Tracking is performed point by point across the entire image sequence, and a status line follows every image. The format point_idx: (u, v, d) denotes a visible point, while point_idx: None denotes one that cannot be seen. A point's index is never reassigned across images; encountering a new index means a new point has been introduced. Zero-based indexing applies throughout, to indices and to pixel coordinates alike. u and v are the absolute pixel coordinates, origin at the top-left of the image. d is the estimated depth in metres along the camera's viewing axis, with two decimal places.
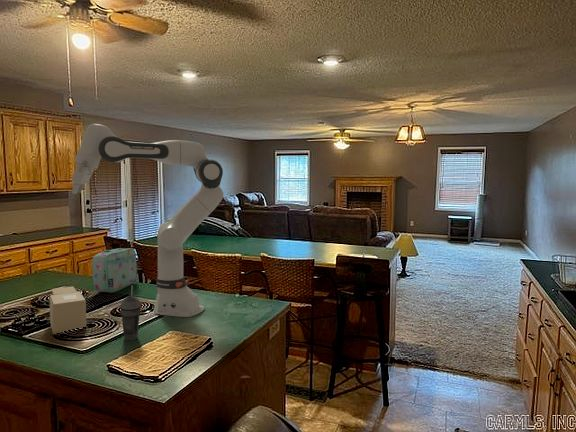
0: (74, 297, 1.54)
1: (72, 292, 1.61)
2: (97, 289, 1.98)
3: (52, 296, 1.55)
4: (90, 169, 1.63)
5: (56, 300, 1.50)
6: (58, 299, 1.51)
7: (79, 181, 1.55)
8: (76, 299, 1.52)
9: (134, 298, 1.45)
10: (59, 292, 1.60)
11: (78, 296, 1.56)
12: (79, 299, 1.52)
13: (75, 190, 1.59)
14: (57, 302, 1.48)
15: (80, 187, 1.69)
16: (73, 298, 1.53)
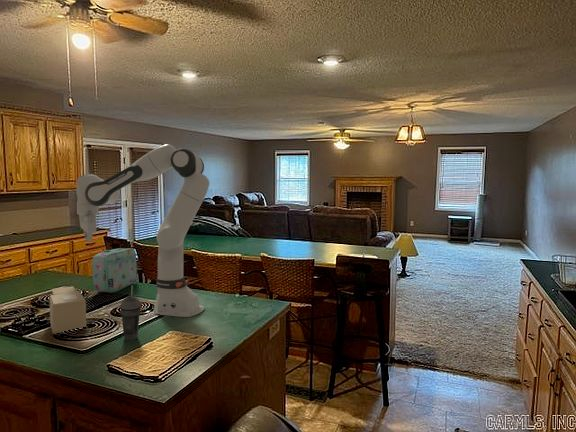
0: (74, 297, 1.54)
1: (72, 292, 1.61)
2: (97, 289, 1.98)
3: (52, 296, 1.55)
4: (94, 216, 1.81)
5: (56, 300, 1.50)
6: (58, 299, 1.51)
7: (94, 230, 1.74)
8: (76, 299, 1.52)
9: (134, 298, 1.45)
10: (59, 292, 1.60)
11: (78, 296, 1.56)
12: (79, 299, 1.52)
13: (90, 238, 1.79)
14: (57, 302, 1.48)
15: None
16: (73, 298, 1.53)
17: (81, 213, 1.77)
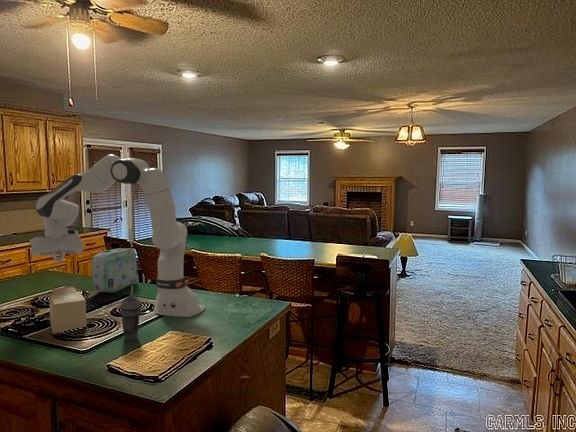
0: (74, 297, 1.54)
1: (72, 292, 1.61)
2: (97, 289, 1.98)
3: (52, 296, 1.55)
4: (52, 237, 1.78)
5: (56, 300, 1.50)
6: (58, 299, 1.51)
7: (31, 251, 1.72)
8: (76, 299, 1.52)
9: (134, 298, 1.45)
10: (59, 292, 1.60)
11: (78, 296, 1.56)
12: (79, 299, 1.52)
13: (55, 258, 1.75)
14: (57, 302, 1.48)
15: (61, 256, 1.77)
16: (73, 298, 1.53)
17: None
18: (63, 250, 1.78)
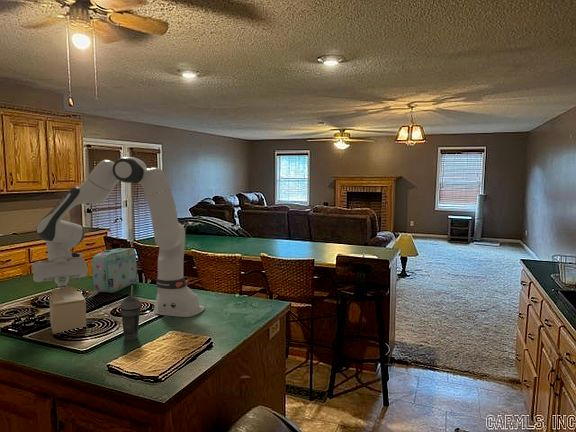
0: (74, 297, 1.54)
1: (72, 292, 1.61)
2: (97, 289, 1.98)
3: (52, 296, 1.55)
4: (55, 261, 1.69)
5: (56, 300, 1.50)
6: (58, 299, 1.51)
7: (33, 276, 1.63)
8: (76, 298, 1.52)
9: (134, 298, 1.45)
10: (59, 292, 1.60)
11: (78, 296, 1.56)
12: (79, 298, 1.52)
13: (58, 284, 1.66)
14: (57, 301, 1.48)
15: (65, 281, 1.68)
16: (73, 298, 1.53)
17: None
18: (67, 275, 1.69)
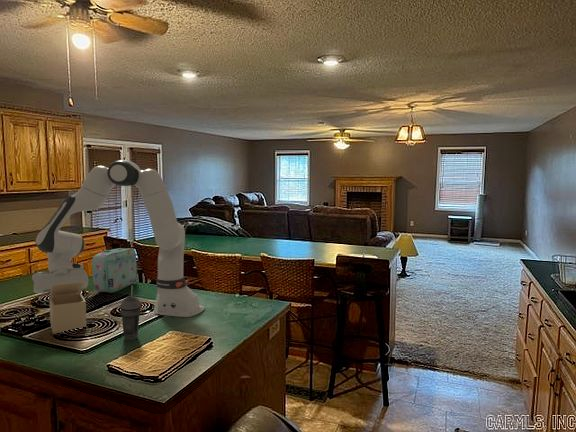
0: None
1: None
2: (97, 289, 1.98)
3: None
4: (55, 273, 1.68)
5: None
6: None
7: (34, 288, 1.62)
8: None
9: (134, 298, 1.45)
10: None
11: None
12: None
13: None
14: None
15: None
16: None
17: None
18: None
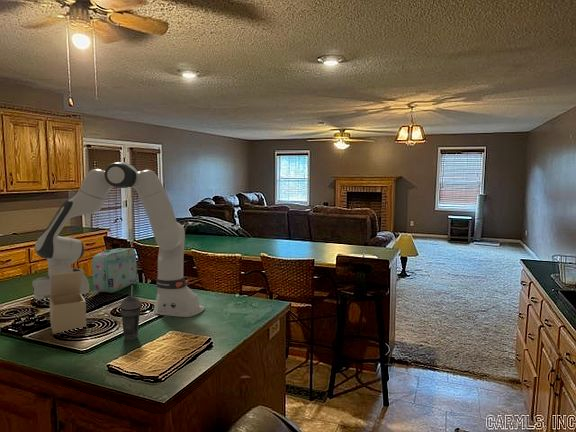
0: None
1: None
2: (97, 289, 1.98)
3: None
4: None
5: None
6: None
7: (34, 294, 1.60)
8: None
9: (134, 298, 1.45)
10: None
11: None
12: None
13: None
14: None
15: None
16: None
17: None
18: None
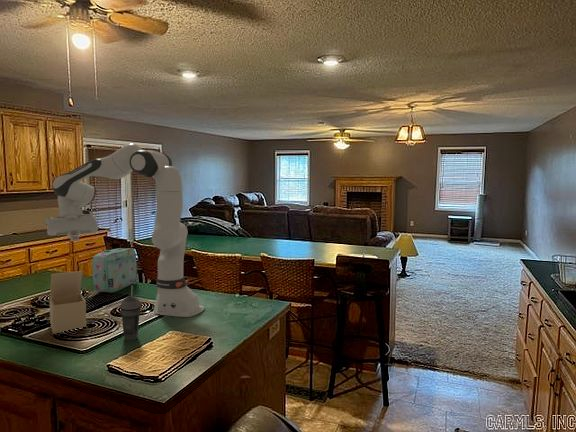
0: None
1: None
2: (97, 289, 1.98)
3: None
4: (67, 217, 1.80)
5: None
6: None
7: (47, 230, 1.73)
8: None
9: (134, 298, 1.45)
10: None
11: None
12: None
13: (70, 237, 1.76)
14: None
15: (77, 235, 1.78)
16: None
17: None
18: (78, 230, 1.79)
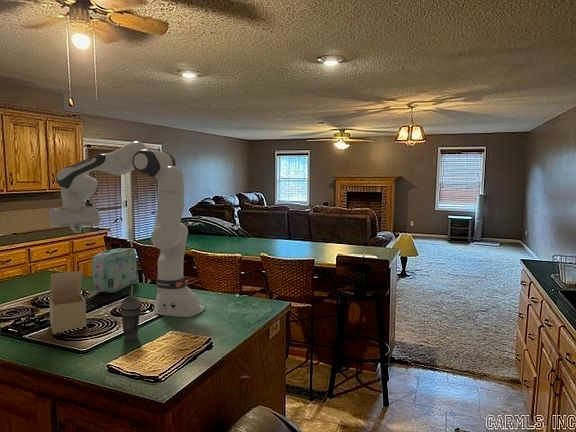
0: None
1: None
2: (97, 289, 1.98)
3: None
4: (70, 209, 1.81)
5: None
6: None
7: (50, 221, 1.75)
8: None
9: (134, 298, 1.45)
10: None
11: None
12: None
13: (73, 229, 1.78)
14: None
15: None
16: None
17: None
18: (81, 221, 1.81)
